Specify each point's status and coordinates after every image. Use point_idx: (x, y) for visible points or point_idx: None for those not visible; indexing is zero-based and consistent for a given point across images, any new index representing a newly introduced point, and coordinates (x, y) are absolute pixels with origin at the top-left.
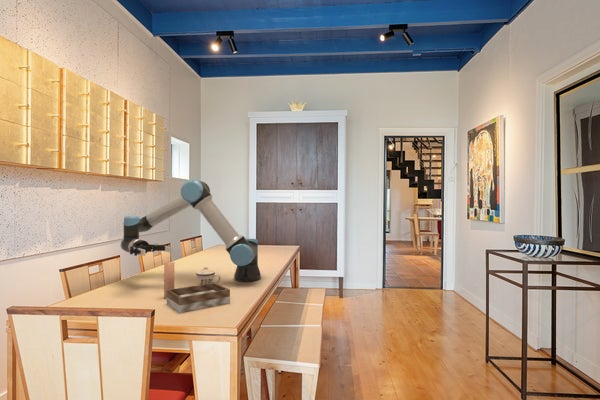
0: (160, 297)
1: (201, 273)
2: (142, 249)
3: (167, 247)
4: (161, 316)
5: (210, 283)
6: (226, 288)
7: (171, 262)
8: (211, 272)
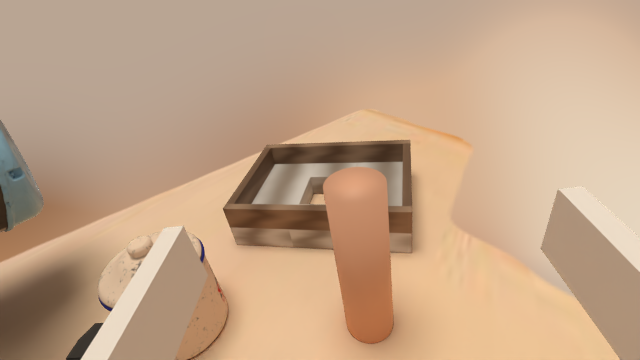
0: (401, 357)
1: (195, 242)
2: (617, 228)
3: (138, 330)
4: (458, 176)
5: (239, 206)
6: (264, 152)
7: (334, 190)
8: (158, 232)
